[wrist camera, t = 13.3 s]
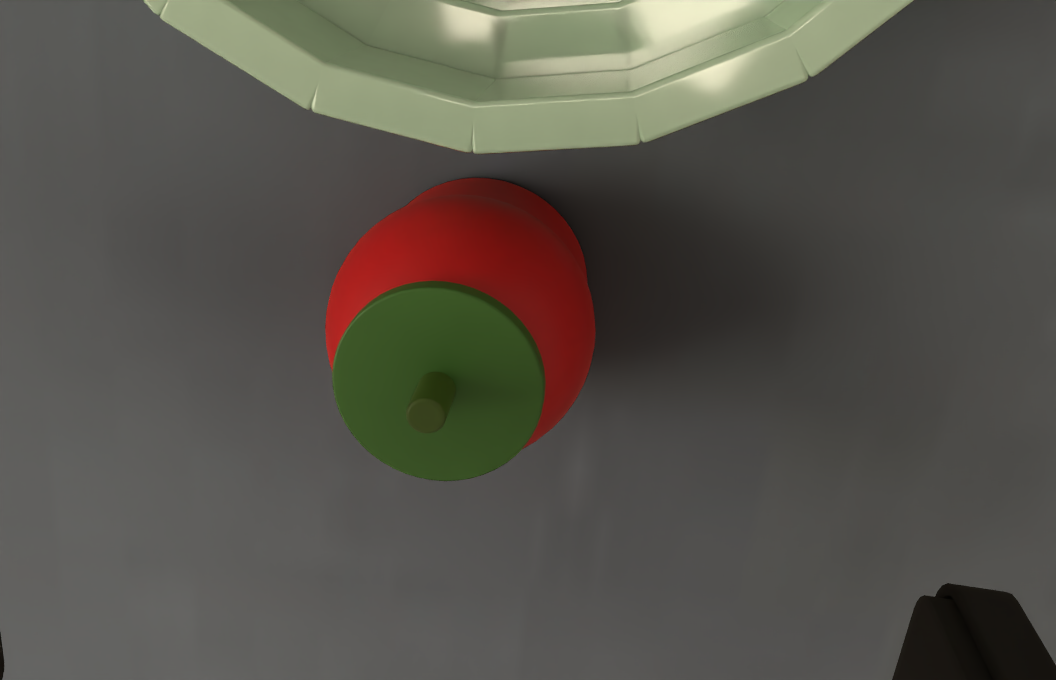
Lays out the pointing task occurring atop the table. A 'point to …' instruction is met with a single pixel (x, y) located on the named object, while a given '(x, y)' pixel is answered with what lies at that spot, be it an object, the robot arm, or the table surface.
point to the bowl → (528, 61)
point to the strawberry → (460, 329)
